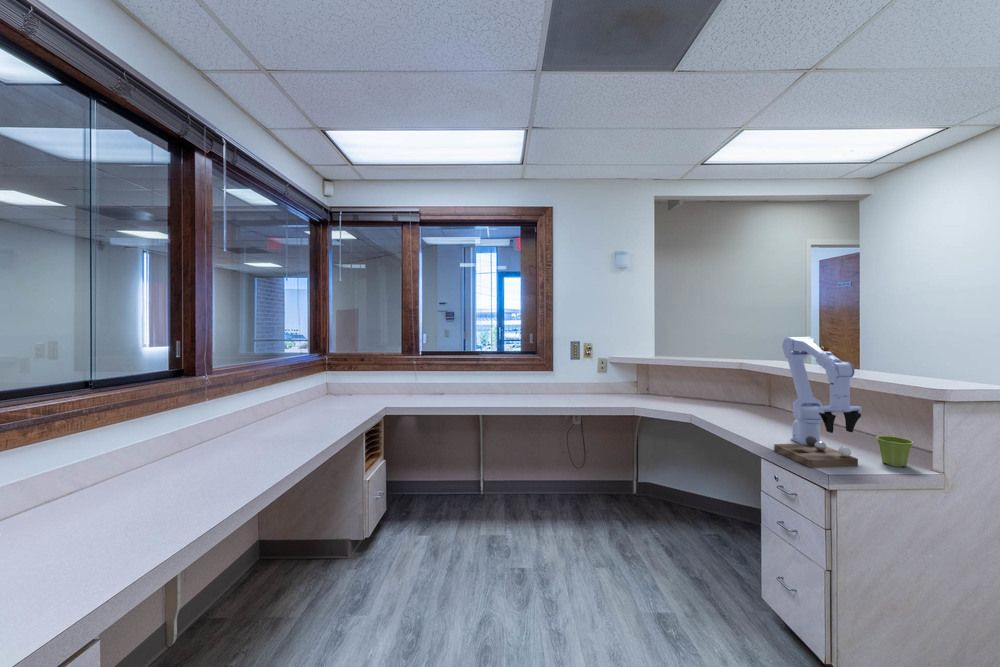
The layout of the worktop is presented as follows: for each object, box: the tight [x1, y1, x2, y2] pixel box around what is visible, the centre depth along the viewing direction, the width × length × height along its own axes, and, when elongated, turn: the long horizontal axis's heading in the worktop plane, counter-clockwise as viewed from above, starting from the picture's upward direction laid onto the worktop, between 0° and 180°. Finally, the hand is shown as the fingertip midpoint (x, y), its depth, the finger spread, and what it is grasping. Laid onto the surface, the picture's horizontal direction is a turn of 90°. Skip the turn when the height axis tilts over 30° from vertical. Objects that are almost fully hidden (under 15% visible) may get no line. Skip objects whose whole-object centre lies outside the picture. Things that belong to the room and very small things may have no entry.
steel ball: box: [814, 440, 827, 451], centre depth 151 cm, size 4×4×4 cm
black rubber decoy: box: [806, 436, 817, 446], centre depth 158 cm, size 4×4×4 cm
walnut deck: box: [773, 443, 859, 468], centre depth 151 cm, size 18×17×2 cm
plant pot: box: [875, 435, 914, 467], centre depth 143 cm, size 9×9×9 cm
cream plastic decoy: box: [837, 446, 852, 457], centre depth 145 cm, size 4×4×4 cm
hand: (839, 431), depth 151 cm, fingers open, 7 cm apart
